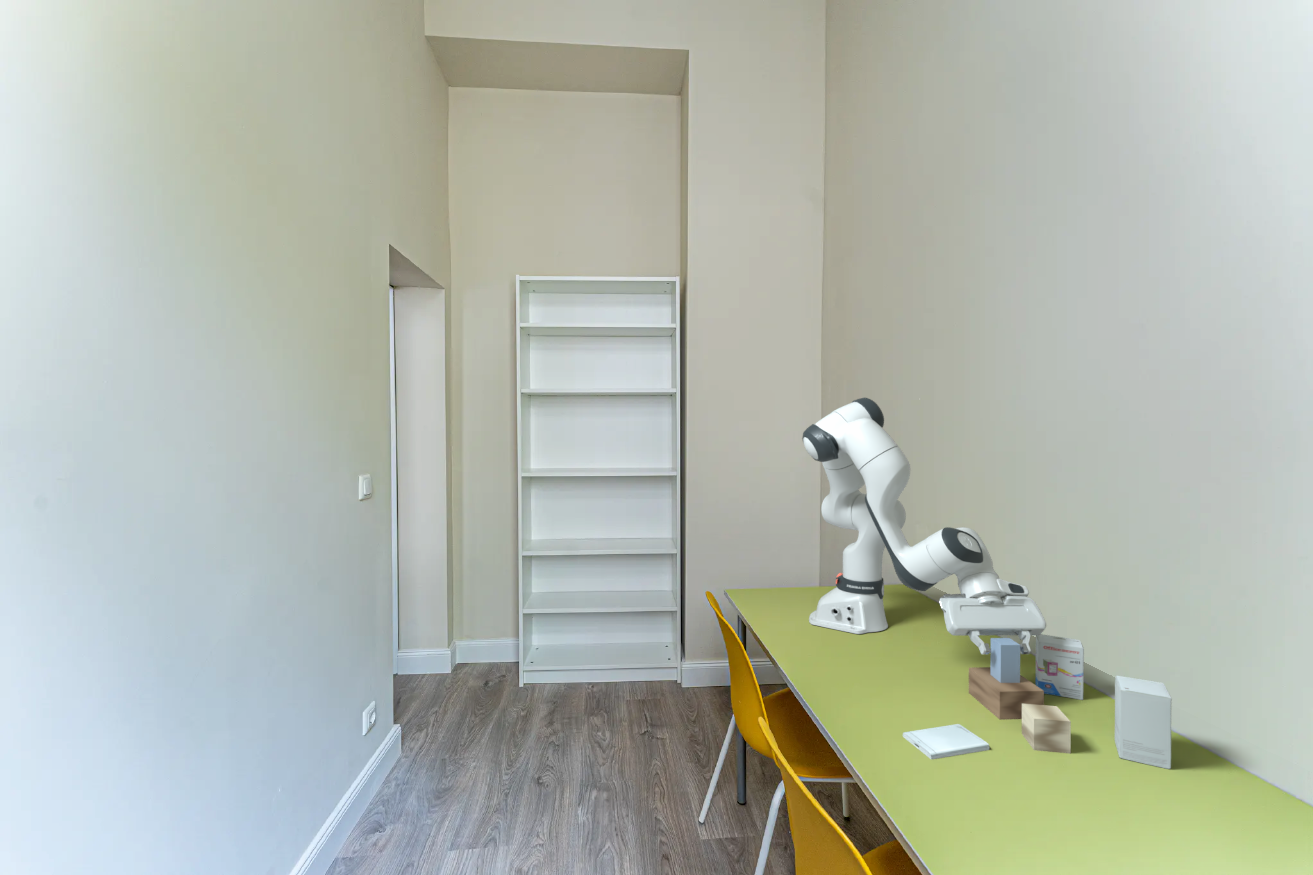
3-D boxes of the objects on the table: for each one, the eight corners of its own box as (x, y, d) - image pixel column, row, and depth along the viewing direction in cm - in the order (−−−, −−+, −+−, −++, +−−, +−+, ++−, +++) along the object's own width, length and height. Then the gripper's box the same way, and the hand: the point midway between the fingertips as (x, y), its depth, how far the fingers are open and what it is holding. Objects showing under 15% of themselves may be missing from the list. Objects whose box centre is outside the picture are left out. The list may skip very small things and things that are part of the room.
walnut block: (999, 720, 123) (999, 691, 123) (968, 694, 135) (968, 667, 135) (1043, 720, 123) (1043, 690, 123) (1008, 693, 135) (1008, 666, 135)
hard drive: (957, 722, 120) (902, 730, 117) (989, 743, 112) (931, 753, 109) (957, 731, 120) (902, 739, 117) (989, 752, 112) (931, 762, 109)
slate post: (990, 674, 131) (990, 638, 131) (1009, 674, 131) (1009, 637, 131) (1000, 682, 127) (1000, 645, 127) (1019, 682, 127) (1020, 644, 127)
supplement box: (1172, 770, 105) (1172, 698, 104) (1118, 758, 108) (1118, 688, 108) (1164, 750, 111) (1165, 682, 110) (1113, 739, 115) (1114, 673, 114)
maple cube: (1033, 750, 112) (1034, 718, 111) (1021, 734, 117) (1021, 703, 117) (1070, 753, 110) (1070, 721, 110) (1056, 737, 116) (1056, 706, 116)
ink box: (1037, 693, 134) (1037, 640, 134) (1035, 684, 139) (1035, 633, 139) (1084, 700, 130) (1084, 646, 130) (1080, 691, 135) (1080, 638, 135)
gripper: (940, 587, 136) (961, 646, 126) (1034, 586, 135) (1061, 646, 125) (932, 600, 140) (951, 659, 131) (1023, 600, 139) (1048, 659, 130)
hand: (1006, 653), depth 128 cm, fingers open, 7 cm apart
